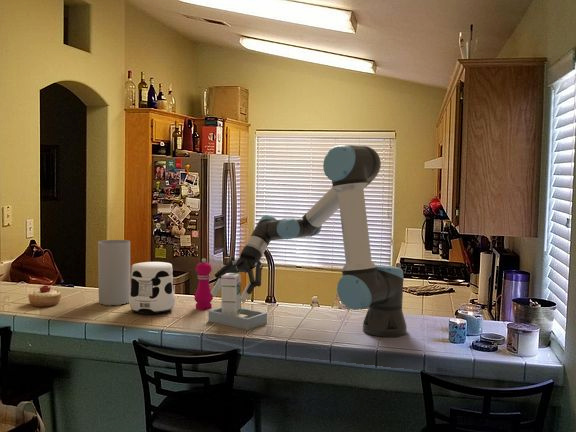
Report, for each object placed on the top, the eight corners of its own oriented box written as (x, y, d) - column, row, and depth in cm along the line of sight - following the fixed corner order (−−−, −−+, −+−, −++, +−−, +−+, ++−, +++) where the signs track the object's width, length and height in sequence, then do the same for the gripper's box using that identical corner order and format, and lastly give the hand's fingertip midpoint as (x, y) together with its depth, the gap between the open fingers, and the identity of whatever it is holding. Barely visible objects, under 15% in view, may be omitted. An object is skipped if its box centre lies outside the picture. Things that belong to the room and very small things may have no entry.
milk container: (165, 303, 239) (165, 260, 238) (181, 313, 225) (181, 266, 223) (123, 308, 230) (122, 263, 228) (137, 319, 216) (137, 270, 214)
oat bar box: (247, 322, 211) (247, 315, 210) (240, 324, 207) (240, 317, 207) (232, 319, 215) (232, 312, 214) (225, 321, 211) (225, 314, 211)
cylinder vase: (123, 297, 249) (122, 239, 246) (135, 303, 239) (135, 242, 237) (94, 301, 241) (93, 241, 238) (105, 307, 231) (105, 244, 229)
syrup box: (236, 316, 209) (237, 276, 208) (220, 315, 210) (221, 275, 209) (241, 312, 214) (241, 273, 213) (225, 311, 216) (226, 272, 214)
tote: (266, 325, 210) (267, 312, 210) (247, 332, 201) (248, 319, 201) (228, 316, 220) (228, 305, 220) (208, 323, 211) (208, 311, 211)
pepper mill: (214, 309, 231) (215, 259, 229) (196, 311, 228) (196, 260, 226) (210, 305, 237) (210, 256, 235) (192, 306, 235) (192, 257, 233)
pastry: (66, 302, 240) (66, 281, 240) (51, 309, 228) (52, 286, 228) (38, 300, 241) (38, 279, 241) (22, 307, 230) (22, 284, 229)
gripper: (284, 260, 216) (259, 308, 205) (232, 253, 230) (206, 298, 219) (276, 248, 211) (250, 296, 200) (223, 241, 225) (196, 286, 214)
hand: (227, 297), depth 210 cm, fingers open, 13 cm apart
